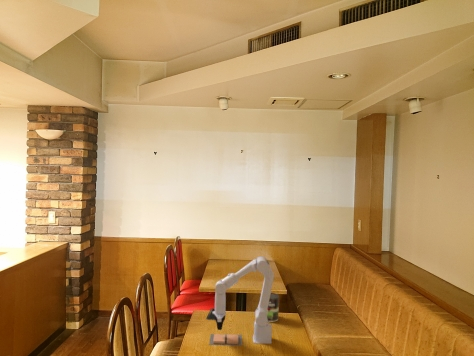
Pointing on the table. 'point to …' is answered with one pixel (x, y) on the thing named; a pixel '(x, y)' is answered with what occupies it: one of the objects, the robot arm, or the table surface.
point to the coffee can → (273, 308)
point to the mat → (225, 340)
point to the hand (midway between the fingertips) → (219, 329)
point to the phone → (211, 315)
